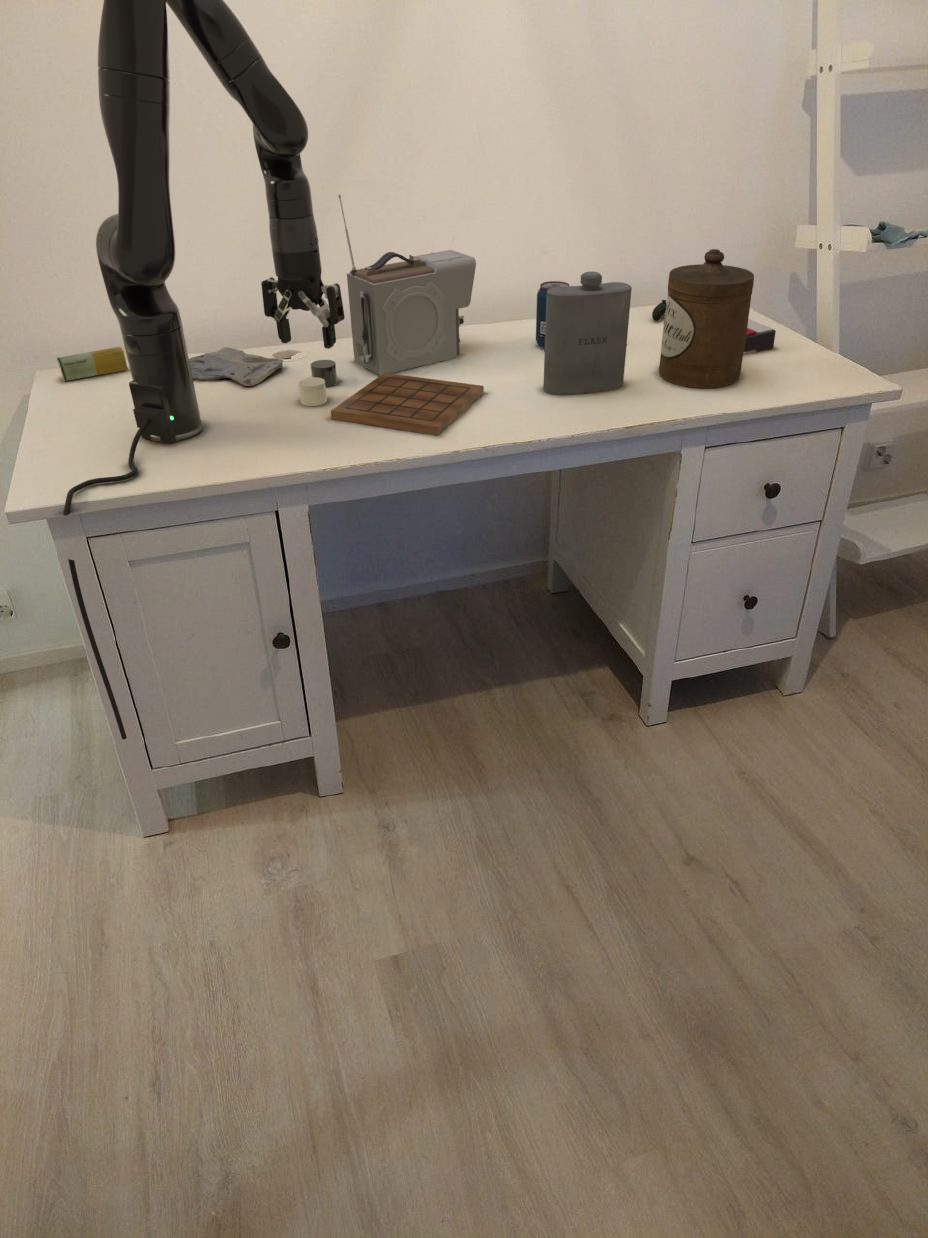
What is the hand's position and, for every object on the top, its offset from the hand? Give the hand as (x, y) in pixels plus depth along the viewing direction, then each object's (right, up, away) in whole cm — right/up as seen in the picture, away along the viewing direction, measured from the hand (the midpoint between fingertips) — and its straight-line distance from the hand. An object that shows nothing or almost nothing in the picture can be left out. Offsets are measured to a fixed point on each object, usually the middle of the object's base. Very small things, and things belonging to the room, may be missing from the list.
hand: (307, 344), depth 152 cm
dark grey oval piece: (+73, +19, +43) cm, 87 cm away
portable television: (+17, +5, +25) cm, 30 cm away
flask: (+49, -5, +9) cm, 50 cm away
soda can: (+45, +9, +29) cm, 54 cm away
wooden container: (+71, -2, +13) cm, 72 cm away
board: (+17, -10, +3) cm, 20 cm away
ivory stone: (0, -8, +6) cm, 10 cm away
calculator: (+80, +7, +26) cm, 84 cm away
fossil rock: (-18, 0, +19) cm, 26 cm away
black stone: (+1, -3, +13) cm, 14 cm away
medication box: (-44, 0, +19) cm, 48 cm away
